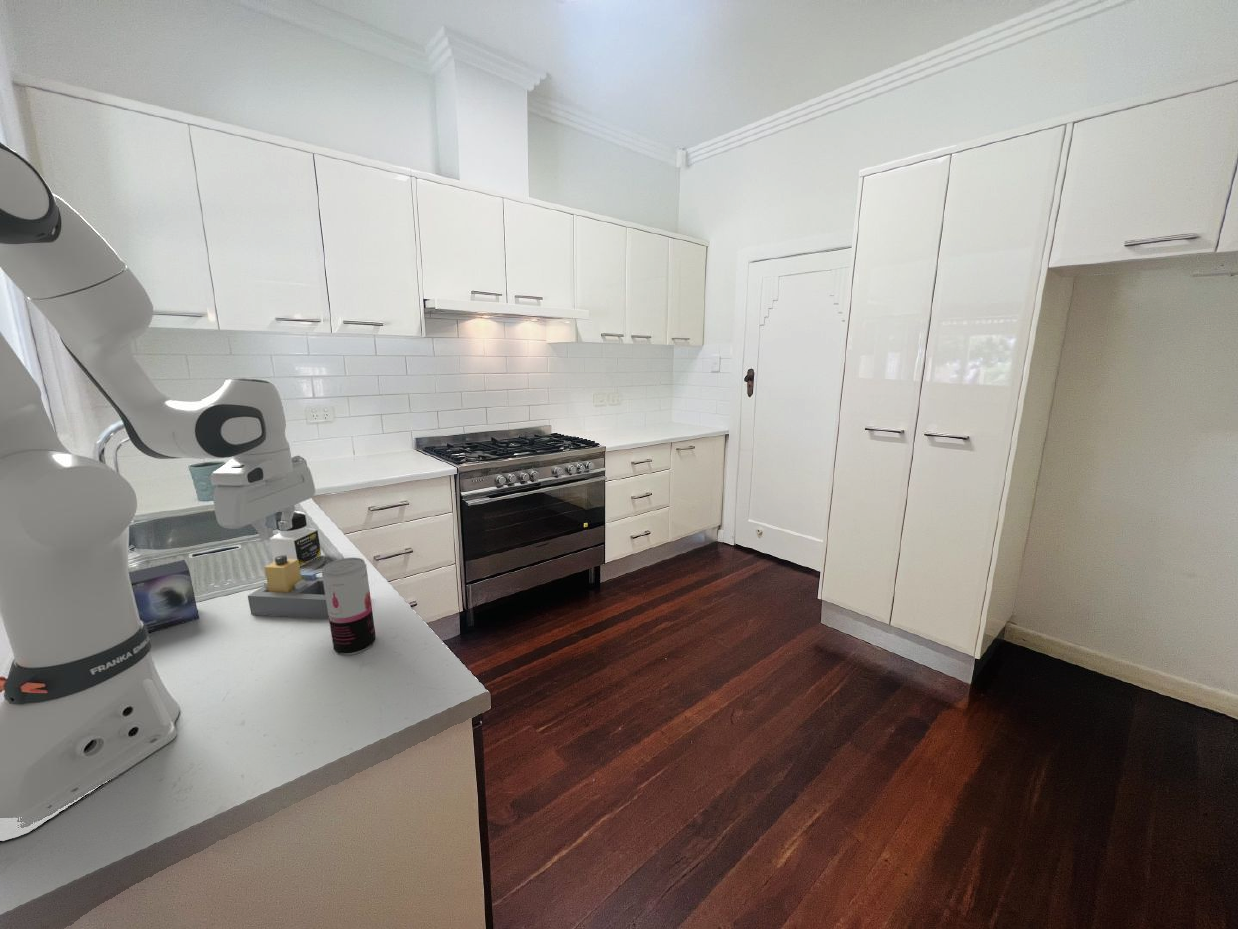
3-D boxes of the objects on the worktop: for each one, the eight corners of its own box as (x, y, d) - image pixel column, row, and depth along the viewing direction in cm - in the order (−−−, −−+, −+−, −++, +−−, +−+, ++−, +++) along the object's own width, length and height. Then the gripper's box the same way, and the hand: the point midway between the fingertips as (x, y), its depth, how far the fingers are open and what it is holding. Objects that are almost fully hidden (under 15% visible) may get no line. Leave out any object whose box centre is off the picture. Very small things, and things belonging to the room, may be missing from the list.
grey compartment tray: (328, 618, 95) (325, 595, 94) (251, 614, 97) (246, 591, 96) (357, 596, 104) (354, 573, 103) (286, 592, 106) (282, 570, 105)
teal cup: (200, 503, 167) (192, 468, 164) (191, 498, 173) (184, 464, 170) (236, 496, 175) (230, 463, 172) (226, 491, 181) (220, 459, 178)
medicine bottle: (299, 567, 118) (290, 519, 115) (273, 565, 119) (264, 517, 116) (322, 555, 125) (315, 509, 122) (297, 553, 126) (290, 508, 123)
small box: (124, 642, 88) (109, 587, 86) (122, 628, 93) (108, 576, 90) (200, 618, 96) (189, 568, 93) (195, 607, 100) (184, 558, 98)
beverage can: (384, 638, 89) (374, 560, 85) (353, 659, 83) (340, 576, 79) (357, 631, 91) (346, 554, 88) (325, 651, 85) (312, 570, 82)
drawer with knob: (290, 609, 99) (282, 562, 97) (272, 608, 99) (263, 561, 97) (305, 600, 103) (297, 553, 100) (287, 599, 103) (279, 553, 101)
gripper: (290, 453, 105) (300, 515, 108) (200, 478, 85) (216, 554, 88) (318, 453, 104) (327, 516, 107) (234, 479, 84) (248, 555, 88)
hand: (276, 533), depth 98 cm, fingers open, 3 cm apart
